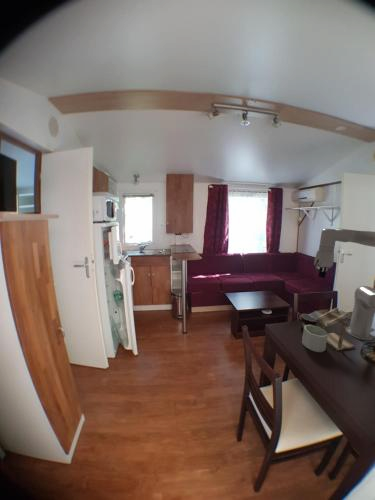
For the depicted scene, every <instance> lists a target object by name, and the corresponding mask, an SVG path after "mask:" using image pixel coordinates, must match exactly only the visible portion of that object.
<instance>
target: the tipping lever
mask: <svg viewBox="0 0 375 500" xmlns="http://www.w3.org/2000/svg"><path fill="white" fill-rule="evenodd" d="M326 312H327V313H325V314H324V313H320V312H318V311H317V310H314V311H313V312H311V313H309V314H308V313H307V314H308V316H309V317H310V318H312V319H314V320H315V321H317V322H319V323H320V324H321V325H322V324H323V325H325V327H327V328H329V327H330V326H333V325H335V324H337V323H338V322H339V323H341V324H342V322H346V323H348V322H351V318H352V315H351V314H350V312H346V311H344V310H342V309H341V310H339V307H334V308H333V309H331V310H329V311H326Z"/></svg>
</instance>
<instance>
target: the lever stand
mask: <svg viewBox="0 0 375 500" xmlns="http://www.w3.org/2000/svg"><path fill="white" fill-rule="evenodd" d="M327 312H328V311H325V310H323V311H322V314H325V313H327ZM348 325H349V324H348V322H347V323H346V322H342V323H341V327H340V333H339V334H337V333H335V332H329V333H328V332H327V334H328V338H327V343H326V344H328V345H329V346H331V347H332V348H333V349H335V351H342V350H348V349H354V348H355V345H354V344H353V343H351V342H350V341H348V340H347V339H345V338H344V336H345V331H346V328H347V326H348ZM321 328H322V329H324V330H325V329H326V326H325V325H323V324H322V323H321ZM325 331H326V330H325Z"/></svg>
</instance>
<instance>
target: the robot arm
mask: <svg viewBox="0 0 375 500" xmlns="http://www.w3.org/2000/svg"><path fill="white" fill-rule="evenodd" d="M336 242H341V243H355V244H358V245H363V246H367V247H373V248H375V231H369V230H356V229H345V228H336V229H335V228H324V229H322V230H321V235H320V240H319V247H318V250H317V252H316V254H315V256H314V263H313V265H314V266H315V269H317V270H318V277H319V278H321V279H325V278H326V274H327V273H328V270H329V269H331V268H332V267H333V266H334V261H335V260H334V259H335V246H336ZM373 285H374V287H375V281H374V282H373ZM353 304H354V305H353V309H352V312H351V321H350V324H349V326H348V327H347V326H346V328H345V331H346V333H347V334H348V335H349V336H351V337H354V338H355V339H358V340H362V341H369V342H370V341H372V340H373V338H374V336H373V335H372V334H371V333H372V332H373V333H374V332H375V329H374V328H373V327H372V326H373V321H374V317H375V288H373V287H371V286H369V285H368V286H367V285H360V286H358V287H357V288H356V289H355V291H354V303H353Z"/></svg>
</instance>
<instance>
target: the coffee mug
mask: <svg viewBox="0 0 375 500" xmlns="http://www.w3.org/2000/svg"><path fill="white" fill-rule="evenodd" d="M300 316H301V317H300ZM297 318H298V319H299V322H300V328H301V329H300V331H301V333H303V331H304V325H314V326H317V322H318V321H315V320H314V319H312V318H310V317H309V316H308V313H298V315H297Z"/></svg>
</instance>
